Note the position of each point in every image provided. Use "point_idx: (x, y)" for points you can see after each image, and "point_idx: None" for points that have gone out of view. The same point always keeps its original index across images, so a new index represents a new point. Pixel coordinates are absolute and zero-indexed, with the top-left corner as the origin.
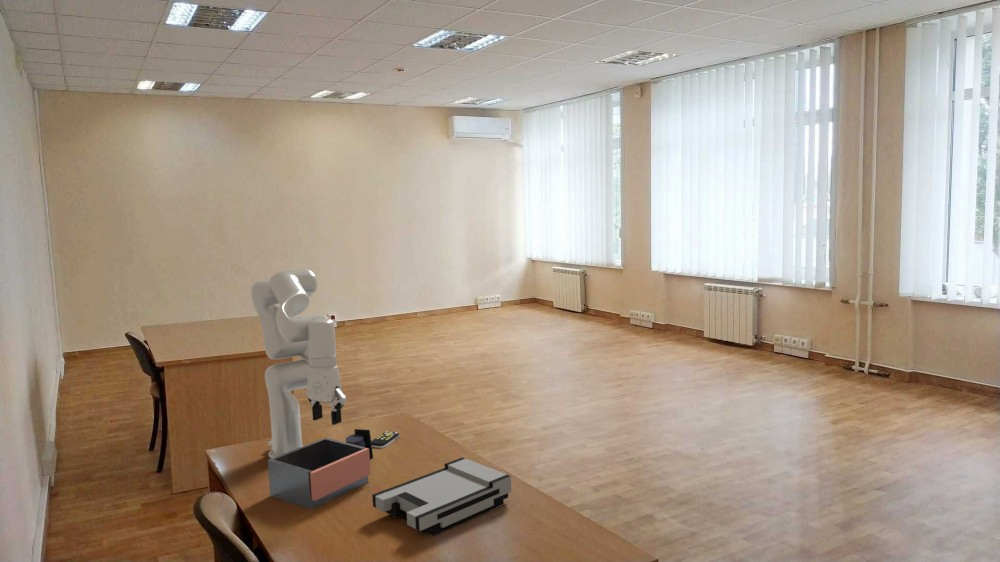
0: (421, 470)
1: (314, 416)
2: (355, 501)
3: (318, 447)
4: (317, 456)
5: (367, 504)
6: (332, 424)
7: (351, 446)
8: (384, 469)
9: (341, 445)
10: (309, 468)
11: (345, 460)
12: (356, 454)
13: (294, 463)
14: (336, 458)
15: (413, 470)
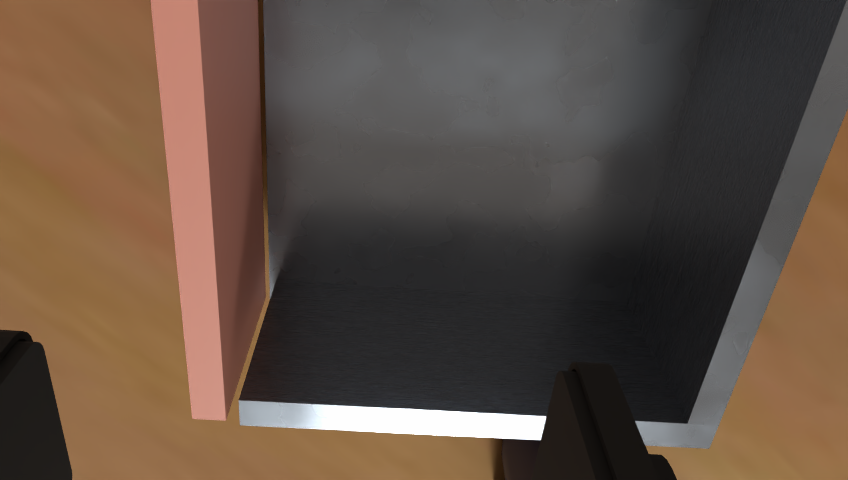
0: (153, 475)
1: (582, 420)
2: (120, 21)
3: (691, 332)
4: (671, 280)
5: (13, 21)
6: (25, 332)
7: (373, 403)
8: None
9: (492, 400)
10: (671, 176)
11: (173, 171)
12: (181, 298)
13: (750, 68)
14: (539, 329)
15: (188, 461)
